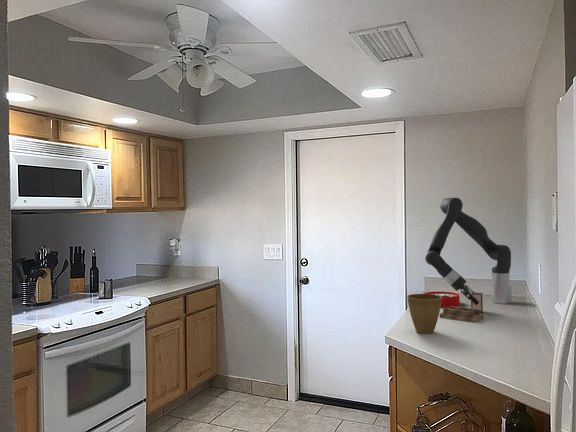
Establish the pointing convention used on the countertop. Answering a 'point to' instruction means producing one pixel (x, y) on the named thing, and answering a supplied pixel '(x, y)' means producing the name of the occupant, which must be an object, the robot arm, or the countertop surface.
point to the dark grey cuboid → (480, 304)
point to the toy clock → (447, 298)
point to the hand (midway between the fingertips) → (478, 302)
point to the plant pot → (424, 311)
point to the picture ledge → (461, 314)
